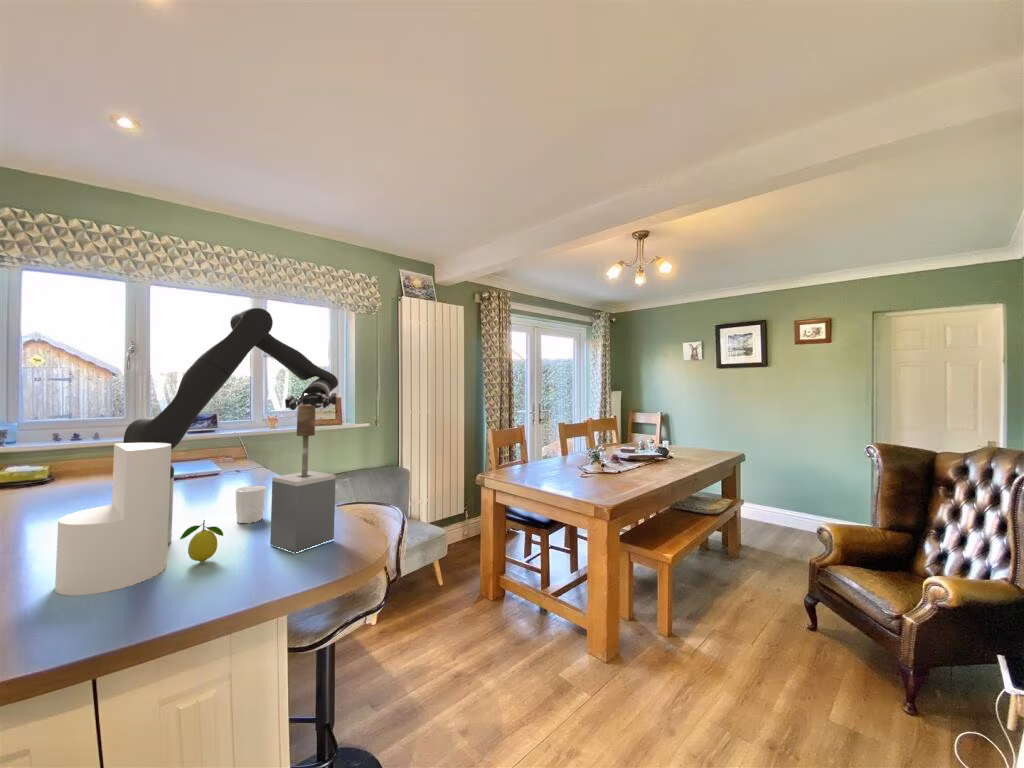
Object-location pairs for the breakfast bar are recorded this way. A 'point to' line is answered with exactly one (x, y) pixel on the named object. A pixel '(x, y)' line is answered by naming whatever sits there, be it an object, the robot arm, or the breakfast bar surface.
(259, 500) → the white cup
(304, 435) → the plunger
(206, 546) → the lemon
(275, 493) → the grey upright block
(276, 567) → the breakfast bar surface
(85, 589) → the white stepped oval block
